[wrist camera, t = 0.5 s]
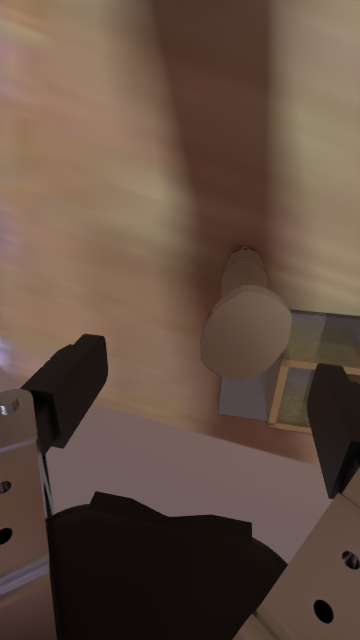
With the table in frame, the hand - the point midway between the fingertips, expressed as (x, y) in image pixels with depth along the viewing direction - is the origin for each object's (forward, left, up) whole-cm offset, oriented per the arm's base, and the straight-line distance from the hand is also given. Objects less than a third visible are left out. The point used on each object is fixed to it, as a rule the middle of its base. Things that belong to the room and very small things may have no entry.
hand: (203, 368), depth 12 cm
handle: (+3, +2, -22) cm, 22 cm away
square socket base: (+16, +11, -22) cm, 29 cm away
